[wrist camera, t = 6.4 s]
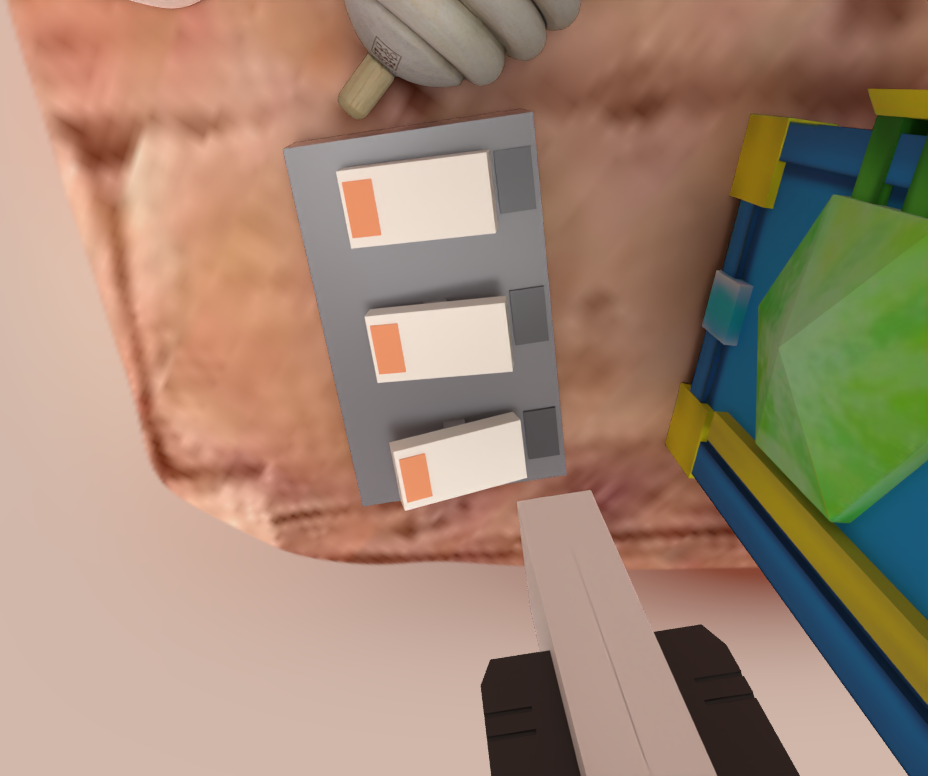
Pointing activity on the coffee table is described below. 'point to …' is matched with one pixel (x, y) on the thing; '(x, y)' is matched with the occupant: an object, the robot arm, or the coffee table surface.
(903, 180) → the decorative book
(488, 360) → the rocker
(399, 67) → the grey ribbed rounded piece
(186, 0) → the can
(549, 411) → the rocker switch panel
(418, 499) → the small box
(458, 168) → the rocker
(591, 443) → the coffee table surface
